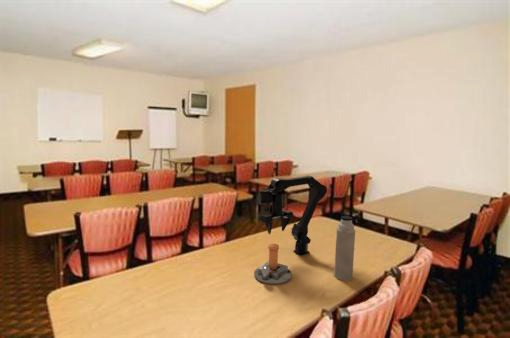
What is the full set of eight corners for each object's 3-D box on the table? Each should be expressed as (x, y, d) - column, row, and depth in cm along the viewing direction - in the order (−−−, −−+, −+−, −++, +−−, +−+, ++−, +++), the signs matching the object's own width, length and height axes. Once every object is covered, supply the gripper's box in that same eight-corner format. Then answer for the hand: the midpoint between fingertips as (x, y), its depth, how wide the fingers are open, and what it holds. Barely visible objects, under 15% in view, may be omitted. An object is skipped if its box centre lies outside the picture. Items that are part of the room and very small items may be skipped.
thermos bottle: (335, 271, 151) (338, 213, 147) (352, 274, 149) (356, 215, 145) (333, 278, 144) (336, 218, 140) (351, 282, 141) (355, 220, 137)
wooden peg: (277, 270, 149) (277, 243, 147) (279, 275, 144) (279, 247, 142) (266, 270, 148) (267, 243, 146) (268, 275, 143) (269, 247, 141)
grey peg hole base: (265, 264, 158) (266, 251, 157) (297, 273, 149) (298, 259, 148) (247, 277, 143) (247, 264, 142) (280, 288, 134) (281, 273, 134)
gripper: (280, 197, 176) (279, 225, 178) (253, 201, 164) (252, 231, 166) (294, 201, 167) (293, 230, 169) (266, 206, 156) (265, 237, 158)
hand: (276, 232), depth 166 cm, fingers open, 9 cm apart
